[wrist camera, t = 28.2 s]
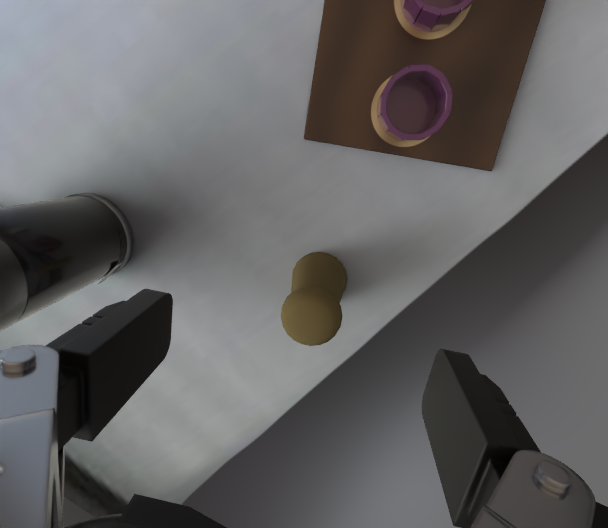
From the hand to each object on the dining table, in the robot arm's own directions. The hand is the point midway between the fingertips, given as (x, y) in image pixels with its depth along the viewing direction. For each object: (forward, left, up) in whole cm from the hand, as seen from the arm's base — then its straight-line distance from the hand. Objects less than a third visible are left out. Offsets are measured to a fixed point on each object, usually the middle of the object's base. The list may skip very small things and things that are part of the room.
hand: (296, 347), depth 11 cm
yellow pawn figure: (0, -8, -28) cm, 29 cm away
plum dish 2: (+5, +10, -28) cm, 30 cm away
